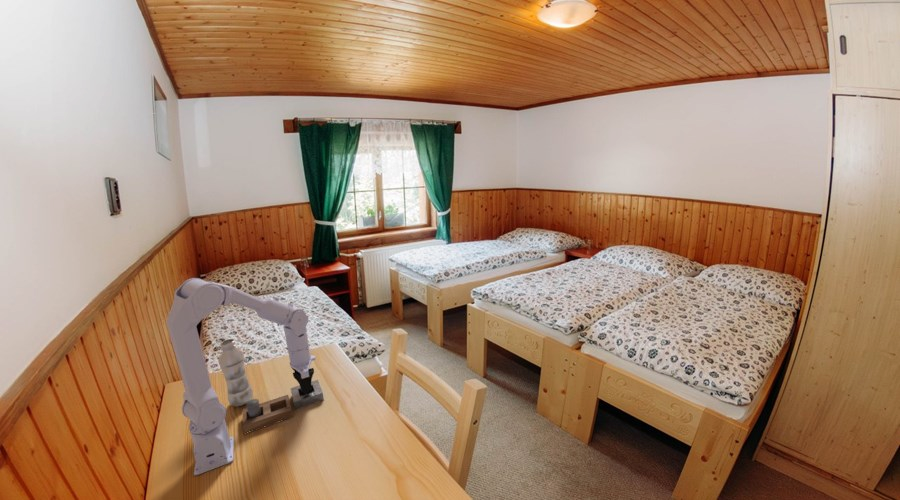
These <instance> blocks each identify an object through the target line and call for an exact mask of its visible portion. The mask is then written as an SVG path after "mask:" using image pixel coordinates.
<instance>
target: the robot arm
mask: <svg viewBox="0 0 900 500" xmlns="http://www.w3.org/2000/svg"><path fill="white" fill-rule="evenodd" d="M173 295H174V299H173V302H172V305H171V309H170V310H169V313H168V316H167V319H166V326H167V329H168V333H169V338H170V341H171V345H172V349H173V351H174V355H175V359H176V363H177V366H178V367H177V368H178V370H179V374H180V377H181V381H182V385H183V388H184V390H185V391H184V392H183V393H182V397H183V403H182V407H181V412H182V415H183V416H184V417H185V418H187V419H188V420H189V426H188V430H189V433H190V437H191V440H192V444H193V451H192V452H193V456H194V459H195V464H194V469H193V476H198V475H200V474H203V473H207V472H209V471H211V470H214V469H216V468H219V467H222V466H225V465H227V464H230V463H233V462H234V449H235V448H234V443H235V442H234V441H235V439H234V438H235V437H234V436H230V435H229V430H228V427H227V423H226V416H227V408H226V406H225V405H224V404H222V403H221V402H220V400H219V396H218V394H217V393H216V392H215V389H214V388H213V386H212V383H211V379H210V376H209V371H208V367H207V364H206V359H205V355H204V352H203V351H204V350H203V346H202V344H201V343H202V342H201V340H200V335H199V332H198V328H197V325H199V323H200V322H201V321H202V320H203V319H204V318H205V317H207V316H208V315H210V314H211V313H212V312H214V311H215V310H216V309H218V308H219V307H220V306H222V307H223V306H228V305H229V304H232V303H233V304H236V305H238V306H241V307H244V308H247V309H251V310H254V311H256V314H257V316H258V317H259V318H260V319H263V320H266V321H269V322H272V323H275V324H278V325H280V326H283V331H284V337H285V341H286V347H287V351H288V357H289V367H290V368H291V369H292V370H293V371H294V372H292V376H293V378H294V379H295V380H296V381H297V383H298V384H299V385H300V387H301V389H302V391H303V393H306V392H309V391H311V382H312V380H313V376H314V374H315V369H314V367H312V368H310V367H311V365H312V362H313V361H315V360H316V355H315V354H312V355H311V351H310V350H311V349H310V344H309V340H308V339H309V337H308V333H307V324H308V321H309V315H307V313H306V311H305V310H303V309H302V308H298V307H295V306H294V304H292V303H289V302H288V303H285V302H283V301H280V298H279V297H276V296H272V297H271V296H269V297H264V298H259V297H256V296H254V295H252V294H250V293H247V292H245V291H243V290H240V289H237V288H236V287H233V286H230V285H226V284H223V283H218V282H213V281H210V280H208V281H207V280H204V279H202V278H200V277H192V278H189V279H186V280H185V281H184V282H182V283H181V285H180V286H178V288H177V289H176V290H175V291H174V294H173Z"/></svg>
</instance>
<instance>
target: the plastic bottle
mask: <svg viewBox="0 0 900 500" xmlns="http://www.w3.org/2000/svg"><path fill="white" fill-rule="evenodd" d="M219 346H220V350H221V351H222V352H221V354H220V356H219V358H218V365H219V367H220V370H221V372H222V373H223V376H224V379H225V382H226V383H225V385H226V389H227V401H228V403H229V404H230V405H231V406H233V407H240V406H244V405H246V403H247V402H248V401H250V400H252V398H253V389H252V386H251V384H250V383H249V379H248V376H247V372H246V366H245V355H244V352H242V350H240V349H239V348H237V344H236V340H235V339H234V338H228V339H225V340H223V341H221V343H220V345H219Z"/></svg>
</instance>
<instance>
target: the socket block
mask: <svg viewBox="0 0 900 500" xmlns="http://www.w3.org/2000/svg"><path fill="white" fill-rule="evenodd" d="M321 387H322V386H321V385H320V382H319V380H318V379H315V380H313V381H312V380H311V388H312V393H309V394H306V395H303V396H302V394H301V389H300V384H299V385H296V386H292V387H290V392H291V397H292V402H293V406H294V410H296V411H297V410H300V409H302V408H304V407H308V406H310V405H313V404H317V403H319V402H322V401H324V394H323V393H324V392H323V390H322V388H321Z"/></svg>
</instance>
